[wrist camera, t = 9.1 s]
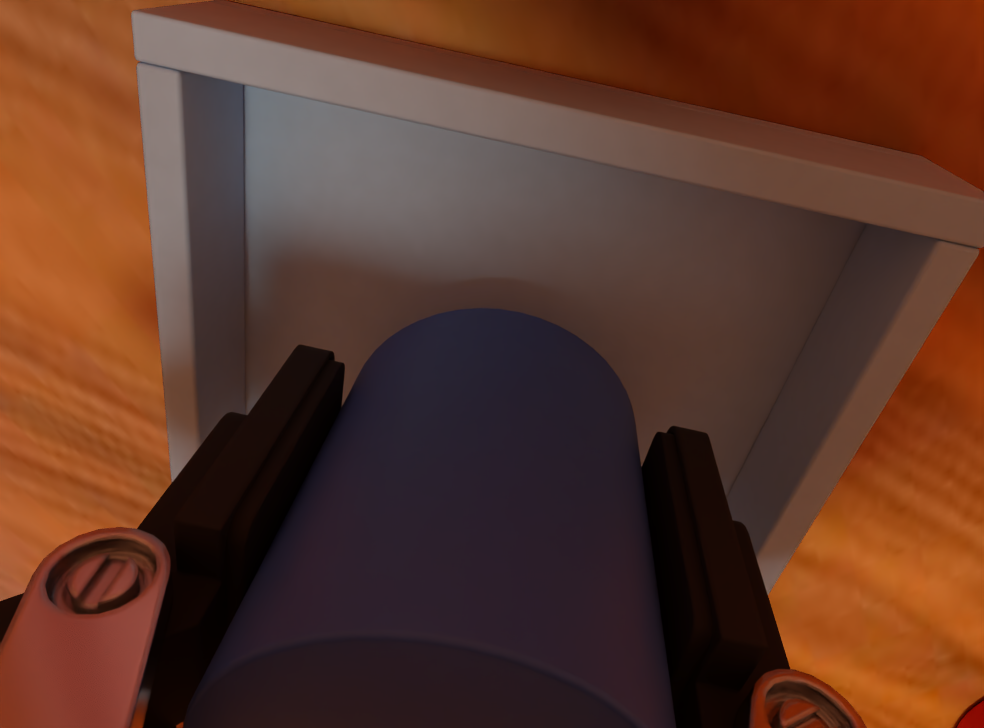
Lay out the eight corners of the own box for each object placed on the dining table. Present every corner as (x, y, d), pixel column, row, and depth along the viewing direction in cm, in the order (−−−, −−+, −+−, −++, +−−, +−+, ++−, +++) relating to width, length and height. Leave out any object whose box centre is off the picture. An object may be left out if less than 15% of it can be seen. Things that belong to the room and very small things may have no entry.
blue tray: (220, -2, 10) (128, 9, 8) (923, 155, 11) (1011, 206, 8) (232, 570, 17) (185, 656, 15) (656, 661, 17) (668, 759, 15)
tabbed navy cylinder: (363, 275, 10) (162, 579, 5) (676, 344, 11) (775, 710, 5) (331, 591, 14) (200, 940, 9) (561, 640, 14) (554, 1014, 9)
